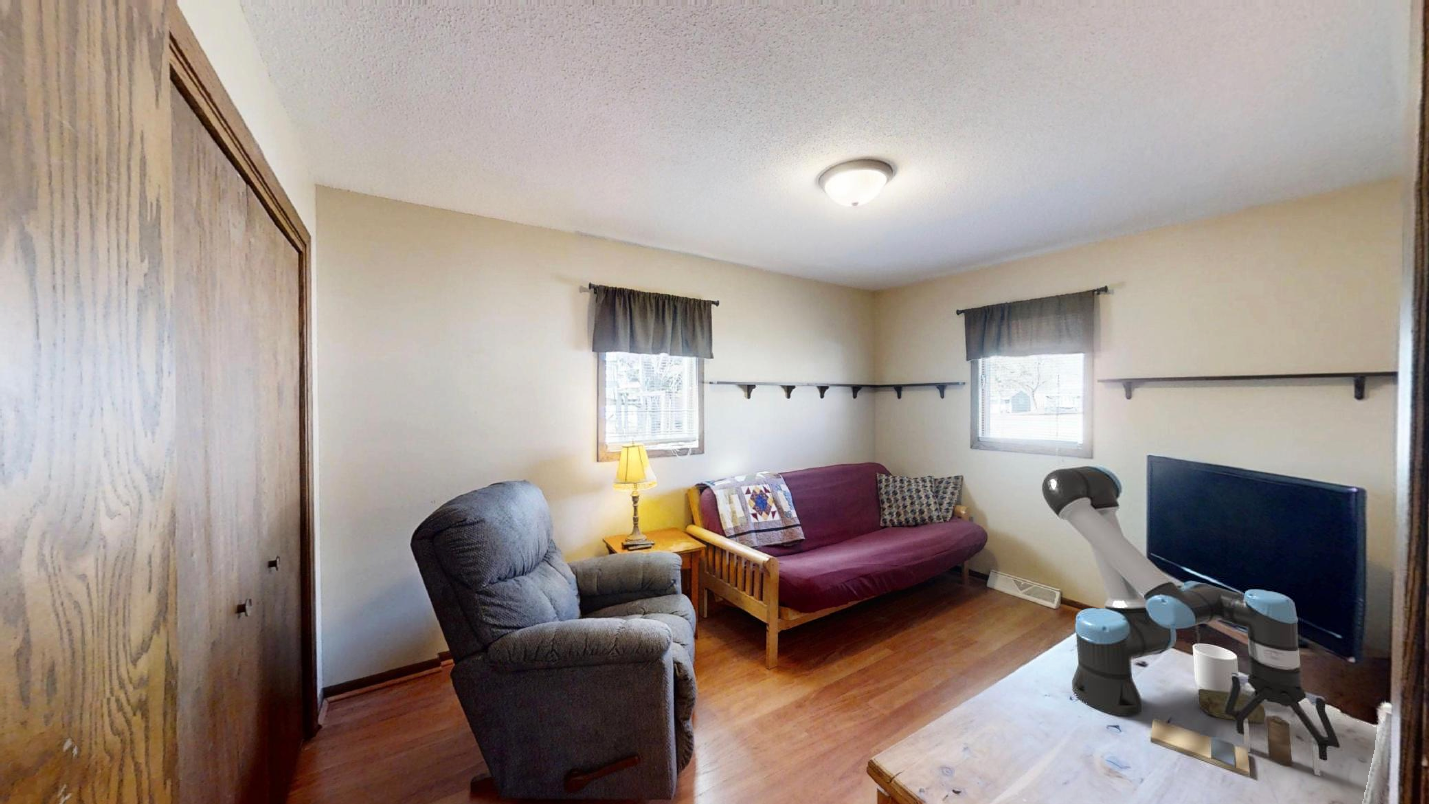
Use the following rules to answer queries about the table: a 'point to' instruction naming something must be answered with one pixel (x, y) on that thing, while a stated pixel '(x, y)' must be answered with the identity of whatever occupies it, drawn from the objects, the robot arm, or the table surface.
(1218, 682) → the mug
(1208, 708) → the stone block
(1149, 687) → the table surface
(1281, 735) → the brown wooden cylinder
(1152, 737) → the flat metallic slab
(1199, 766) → the table surface
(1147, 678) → the table surface
